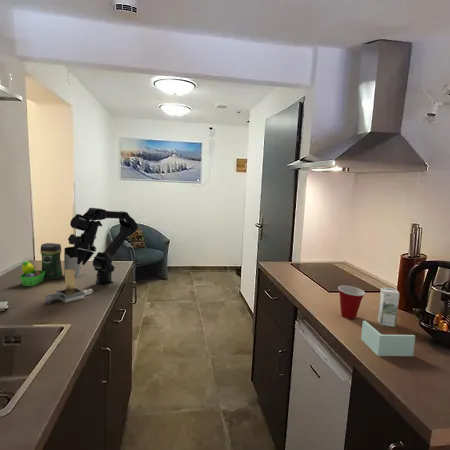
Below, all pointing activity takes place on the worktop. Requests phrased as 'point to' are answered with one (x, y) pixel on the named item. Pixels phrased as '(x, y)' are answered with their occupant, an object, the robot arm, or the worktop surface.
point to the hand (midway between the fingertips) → (80, 264)
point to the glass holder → (71, 260)
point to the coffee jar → (51, 260)
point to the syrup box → (388, 307)
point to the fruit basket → (31, 274)
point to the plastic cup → (350, 301)
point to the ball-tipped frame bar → (67, 298)
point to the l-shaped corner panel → (387, 342)
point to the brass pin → (69, 281)
